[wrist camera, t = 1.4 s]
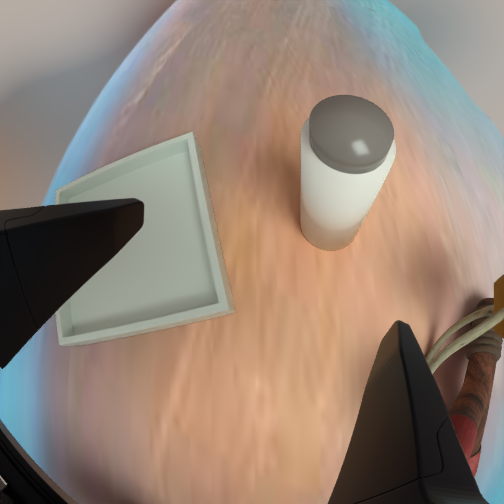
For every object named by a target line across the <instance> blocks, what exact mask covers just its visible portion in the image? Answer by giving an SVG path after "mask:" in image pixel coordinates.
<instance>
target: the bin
mask: <svg viewBox="0 0 504 504" xmlns="http://www.w3.org/2000/svg"><path fill="white" fill-rule="evenodd" d="M125 198H136V199H138V200H140V201H142V202H143V203H144V224H143V226H142V228H141V229H140V230H139V231H138V232H137V233H136V234H135V235H134V237H133V238H132V239H131V240H130V241H129V242H128V243H127V244H126V245H125V246H124V247H123V248H122V249H121V250H120V251H119V252H118V253H117V254H116V255H115V256H114V257H113V258H112V259H111V260H110V261H109V262H108V263H107V264H106V265H105V266H103V267H102V268H101V269H100V270H99V271H98V272H97V273H96V274H95V275H94V276H93V277H91V278H90V279H89V280H88V281H87V282H86V283H85V284H84V285H83V286H82V287H81V288H80V289H79V290H78V291H77V292H76V293H75V294H74V295H72V296H71V297H70V298H69V299H68V300H67V301H66V302H65V303H64V304H63V305H62V306H61V307H60V308H59V309H58V310H57V311H56V323H57V332H58V340H59V345H63V346H80V345H86V344H92V343H97V342H103V341H108V340H114V339H119V338H124V337H129V336H134V335H139V334H144V333H149V332H154V331H159V330H163V329H168V328H172V327H177V326H181V325H186V324H190V323H195V322H199V321H203V320H207V319H212V318H216V317H220V316H224V315H228V314H232V313H236V310H235V306H234V302H233V297H232V293H231V289H230V285H229V280H228V276H227V271H226V267H225V263H224V258H223V254H222V249H221V245H220V240H219V235H218V231H217V226H216V222H215V217H214V212H213V207H212V203H211V198H210V193H209V188H208V183H207V178H206V173H205V168H204V163H203V158H202V153H201V148H200V146H199V144H198V142H197V140H196V138H195V136H194V134H193V132H191V133H188V134H185V135H182V136H179V137H176V138H173V139H171V140H168V141H165V142H162V143H160V144H157V145H154V146H152V147H149V148H147V149H144V150H142V151H139V152H137V153H134V154H132V155H129V156H127V157H125V158H122V159H120V160H118V161H115V162H113V163H111V164H108V165H106V166H104V167H102V168H100V169H97V170H95V171H93V172H91V173H89V174H87V175H85V176H83V177H81V178H79V179H77V180H75V181H73V182H71V183H69V184H67V185H65V186H63V187H61V188H59V189H57V190H56V196H55V205H57V204H67V203H77V202H87V201H99V200H111V199H125Z"/></svg>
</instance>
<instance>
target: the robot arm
mask: <svg viewBox="0 0 504 504" xmlns="http://www.w3.org/2000/svg"><path fill="white" fill-rule="evenodd" d="M143 224H144V203H143V202H142V201H140V200H138V199H136V198H125V199H111V200H99V201H87V202H77V203H67V204H57V205H48V206H40V207H31V208H21V209H11V210H0V367H1V369H3V368H4V367H5V366H6V365H7V364H8V363H9V362H10V361H11V360H12V358H13V357H14V356H15V355H16V354H17V353H18V352H19V351H20V349H21V348H22V347H23V346H24V345H25V344H26V343H27V342H28V341H29V340H30V339H31V337H32V336H33V335H34V334H35V333H36V332H37V331H38V330H39V329H40V328H41V327H42V326H43V325H44V324H45V322H46V321H47V320H48V319H49V318H50V317H51V316H52V315H53V314H54V313H55V312H56V311H57V310H58V309H59V308H60V307H61V306H62V305H63V304H64V303H65V302H66V301H67V300H68V299H69V298H70V297H71V296H72V295H74V294H75V293H76V292H77V291H78V290H79V289H80V288H81V287H82V286H83V285H84V284H85V283H86V282H87V281H88V280H89V279H90V278H91V277H93V276H94V275H95V274H96V273H97V272H98V271H99V270H100V269H101V268H102V267H103V266H105V265H106V264H107V263H108V262H109V261H110V260H111V259H112V258H113V257H114V256H115V255H116V254H117V253H118V252H119V251H120V250H121V249H122V248H123V247H124V246H125V245H126V244H127V243H128V242H129V241H130V240H131V239H132V238H133V237H134V235H135V234H136V233H137V232H138V231H139V230H140V229H141V228H142V226H143ZM0 475H1V477H2V478H3V479H4V480H5V482H6V483H7V485H5V484H4V483H3V481H2V480H1V479H0V504H78V503H76V502H75V501H74V500H73V499H72V498H71V497H70V496H68V495H67V494H66V493H65V492H64V491H63V490H62V489H61V488H60V487H59V486H58V485H57V484H56V483H55V482H54V481H53V480H52V479H51V478H50V477H49V476H48V475H47V474H46V473H45V472H44V471H43V470H42V469H41V468H40V467H39V466H38V465H37V464H36V463H35V462H34V460H33V459H32V458H31V457H30V456H29V455H28V454H27V453H26V451H25V450H24V449H23V448H22V447H21V445H20V444H19V443H18V442H17V441H16V439H15V438H14V437H13V436H12V434H11V433H10V432H9V430H8V429H7V428H6V426H5V425H4V424H3V422H2V421H1V420H0ZM328 504H489V503H488V502H487V501H486V500H485V499H484V498H483V496H482V495H481V493H480V491H479V488H478V486H477V483H476V481H475V478H474V476H473V473H472V471H471V468H470V466H469V464H468V461H467V459H466V456H465V454H464V452H463V449H462V447H461V444H460V442H459V440H458V437H457V434H456V432H455V429H454V426H453V424H452V421H451V418H450V416H448V411H447V408H446V406H445V403H444V401H443V398H442V396H441V393H440V391H439V389H438V386H437V384H436V381H435V379H434V377H433V375H432V372H431V370H430V368H429V366H428V363H427V361H426V359H425V357H424V355H423V352H422V350H421V348H420V346H419V344H418V342H417V340H416V338H415V336H414V334H413V332H412V330H411V328H410V326H409V325H408V324H406V323H404V322H402V321H400V320H397V321H396V322H395V323H394V324H393V325H392V327H391V328H390V329H389V331H388V332H387V333H386V335H385V336H384V338H383V339H382V341H381V343H380V346H379V349H378V352H377V355H376V358H375V361H374V364H373V367H372V370H371V373H370V376H369V378H368V381H367V384H366V387H365V391H364V394H363V398H362V402H361V406H360V410H359V414H358V417H357V421H356V424H355V428H354V431H353V434H352V437H351V441H350V444H349V447H348V450H347V453H346V456H345V459H344V462H343V465H342V468H341V471H340V473H339V476H338V479H337V481H336V484H335V487H334V489H333V492H332V494H331V497H330V499H329V502H328Z"/></svg>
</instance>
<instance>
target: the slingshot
mask: <svg viewBox="0 0 504 504" xmlns="http://www.w3.org/2000/svg"><path fill="white" fill-rule="evenodd" d="M471 321H472V326H471V330H470V331H468V332H467V333H465V334H463V335H462V336H460V337H458V338H457V339H455V340H454V341H453V342H451V343H450V344H448V345H447V346H446V347H445V348H444V349H443V350H441V351H440V352H439V353H438V354H437V355H436V357H435V358H434V359H433V357H434V356H435V354H436V353H437V351H438V350H439V348H440V347H441V346H442V344H443V343H444V342H445V341H446V340H447V339H448V338H449V337H450V336H451V335H452V334H453V333H455V332H456V331H457V330H458V329H460V328H461V327H463V326H464V325H466V324H468V323H470V322H471ZM502 338H504V275H503V276H501V277H500V278H499V279H498V280H497V281H496V282H494V298H485V299H483V300H481V301H480V302H479V303H478V306H477V309H476V310H475V311H474V312H473V313H471V314H469V315H467V316H465V317H464V318H462V319H461V320H459V321H458V322H456V323H455V324H454V325H452V326H451V327H450V328H449V329H448V330H447V331H446V332H445V333H444V334H443V335H442V336H441V337H440V338H439V339H438V340H437V342H436V343H435V344H434V346H433V347H432V348H431V350H430V352H429V353H428V355H427V357H426V358H425V359H426V361H427V363H428V366H429V368H430V370H431V372H432V375H433V373H434V372H435V370H436V369H437V368H438V366H439V365H440V364H441V363H442V362H443V361H444V360H445V359H447V358H448V357H449V356H450V355H451V354H453V353H454V352H456V351H457V350H459V349H460V348H462V347H463V346H465V345H466V344H468V343H469V345H468V351H467V354H466V355H467V358H468V360H469V361H468V366H467V371H466V375H465V379H464V383H463V386H462V389H461V391H460V393H459V395H458V397H457V399H456V401H455V403H454V404H453V406H452V408H451V410H450V412H449V414H448V416H450V418H451V421H452V424H453V426H454V429H455V432H456V434H457V437H458V440H459V442H460V444H461V447H462V449H463V452H464V454H465V456H466V459H467V461H468V464H469V466H470V468H471V471H472V473H473V476H475V474H476V472H477V468H478V463H479V458H480V452H481V441H482V437H483V432H484V428H485V424H486V419H487V414H488V409H489V403H490V398H491V392H492V386H493V380H494V374H495V369H496V362H497V361H498V360H499V359H500V357H501V349H502V341H503V340H502ZM432 359H433V360H432ZM431 360H432V361H431Z"/></svg>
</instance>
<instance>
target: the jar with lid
mask: <svg viewBox="0 0 504 504" xmlns="http://www.w3.org/2000/svg"><path fill="white" fill-rule="evenodd" d="M395 154H396V146H395V141H394V129H393V125H392V123H391V121H390V119H389V117H388V116H387V114H386V113H385V112H384V111H383V110H382V109H381V108H380V107H378V106H377V105H375V104H374V103H372V102H370V101H368V100H366V99H363V98H361V97H357V96H352V95H336V96H332V97H328V98H326V99H324V100H322V101H320V102H319V103H318V104H317V105H316V106H315V107H314V108H313V110H312V112H311V114H310V117H309V118H308V119H307V120H306V121H305V123H304V125H303V128H302V131H301V207H300V226H301V230H302V233H303V235H304V237H305V238H306V239H307V241H308V242H309V243H311V244H312V245H313V246H315V247H317V248H319V249H322V250H326V251H336V250H340V249H343V248H344V247H346V246H348V245H349V244H350V243H351V242H352V241H353V240H354V238H355V236H356V235H357V233H358V231H359V229H360V227H361V225H362V223H363V221H364V220H365V218H366V216H367V214H368V212H369V210H370V208H371V206H372V204H373V202H374V200H375V198H376V196H377V194H378V192H379V190H380V188H381V186H382V184H383V182H384V180H385V178H386V176H387V174H388V172H389V170H390V168H391V166H392V164H393V162H394V159H395Z"/></svg>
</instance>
